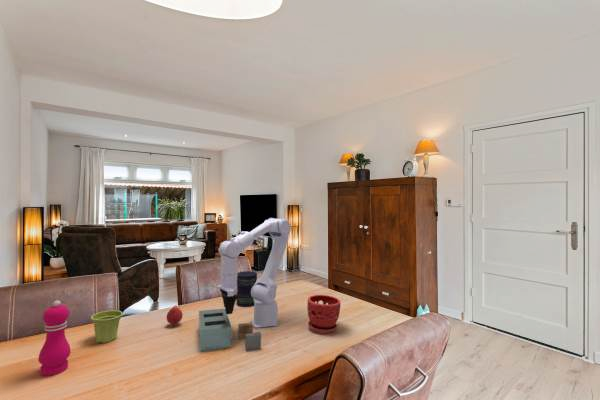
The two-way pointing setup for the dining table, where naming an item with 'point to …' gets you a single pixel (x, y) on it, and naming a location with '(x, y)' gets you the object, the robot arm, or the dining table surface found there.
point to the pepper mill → (55, 341)
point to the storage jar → (245, 288)
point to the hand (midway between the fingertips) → (228, 310)
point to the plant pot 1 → (106, 325)
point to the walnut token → (244, 330)
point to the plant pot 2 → (323, 313)
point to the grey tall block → (252, 341)
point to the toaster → (214, 330)
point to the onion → (174, 316)
